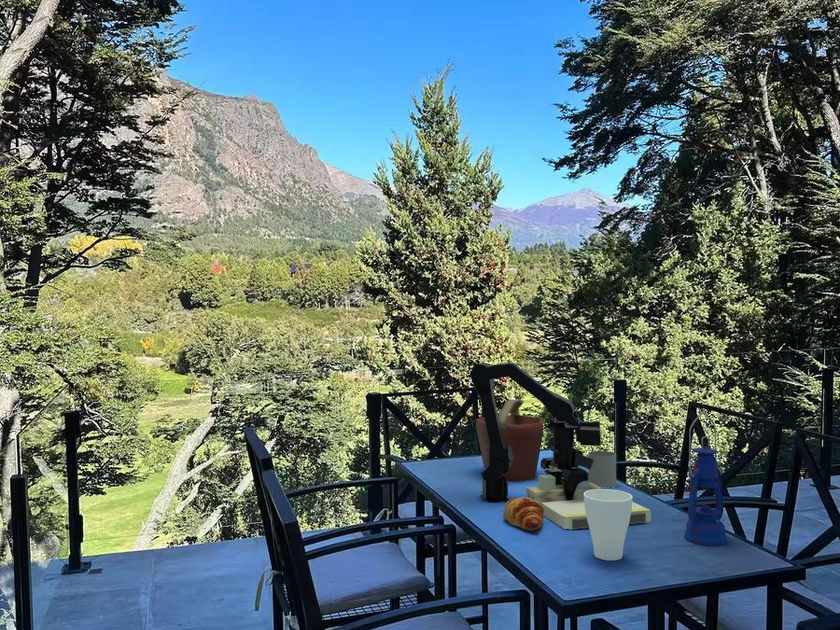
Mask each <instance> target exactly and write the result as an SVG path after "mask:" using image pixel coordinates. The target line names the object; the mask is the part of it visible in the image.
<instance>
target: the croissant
mask: <svg viewBox="0 0 840 630" xmlns="http://www.w3.org/2000/svg"><path fill="white" fill-rule="evenodd" d="M503 510H504V512H503V520H504V521H506V522H508V523H509V525H512V526H515V527H518V528H521V529H522V530H527V531H529V532H531V531H536V530H539V529H541V527H542V526H543V521H544V515H543V513H544V509H543V507H542V506H541V505H540V504H539V503H538V502H537V501H535V500H533V499H530V498H527V497H513V498H510V499H509V500H508V501H507V502H506V503H505V505H504V509H503Z"/></svg>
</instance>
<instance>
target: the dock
mask: <svg viewBox="0 0 840 630" xmlns="http://www.w3.org/2000/svg"><path fill="white" fill-rule="evenodd" d="M541 506H542V507H543V509H544V513H543V517H545V516H546V517H545V518H546V519H548V518H549V519H548V520H550V521H551V520H552V521H551V522H553V523H554V522H555V523H554V524H556V525H557V524H558V525H557V526H559V527H560V526H561V527H562V529H563V528H564V529H569V530H578V528H579V529H580V528H581V529H590V528H589V525H588V521H587V516H586V511H585V506H584V499H581V500H569V501H556V502H543V503H541ZM651 513H652V511H651V509H649V508H648V507H647V508H646V507H644V506H642V505H641V504H638V503H636V502H634V501H632V510H631V516H630V521H629V525H635V524H636V525H637V524H645V523H647V524H648V523H651V522H652V521H651V520H652V519H651V518H652V516H651V515H652V514H651ZM561 527H560V528H561ZM564 529H563V530H564Z"/></svg>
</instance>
